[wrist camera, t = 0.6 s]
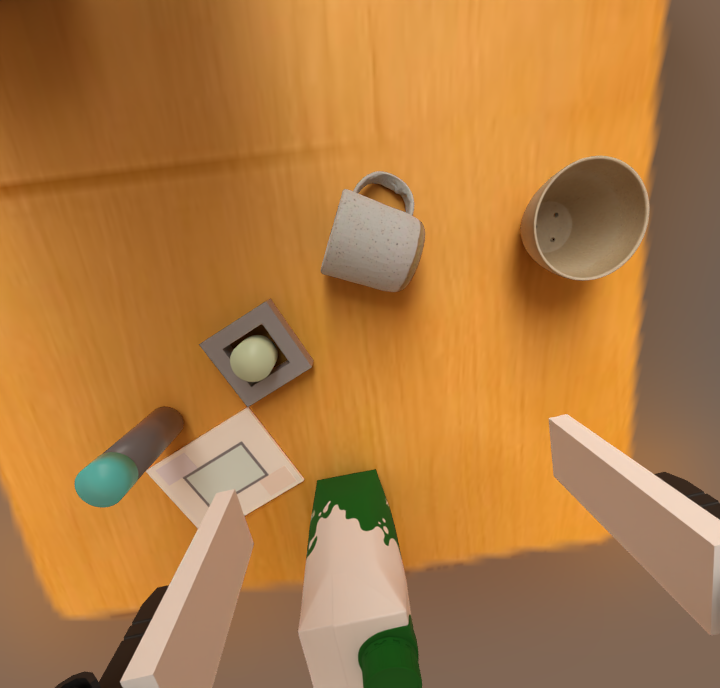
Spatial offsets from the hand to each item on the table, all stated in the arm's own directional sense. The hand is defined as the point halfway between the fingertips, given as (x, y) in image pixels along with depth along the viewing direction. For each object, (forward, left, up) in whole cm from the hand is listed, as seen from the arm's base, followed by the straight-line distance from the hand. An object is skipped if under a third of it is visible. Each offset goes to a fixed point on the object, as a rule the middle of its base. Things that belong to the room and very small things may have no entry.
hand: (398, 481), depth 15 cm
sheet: (+5, -22, -25) cm, 33 cm away
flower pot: (0, +22, -25) cm, 34 cm away
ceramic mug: (-9, +7, -25) cm, 28 cm away
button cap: (-5, -9, -23) cm, 26 cm away
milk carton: (+16, -11, -25) cm, 32 cm away
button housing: (-5, -10, -25) cm, 27 cm away
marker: (-4, -23, -25) cm, 34 cm away
